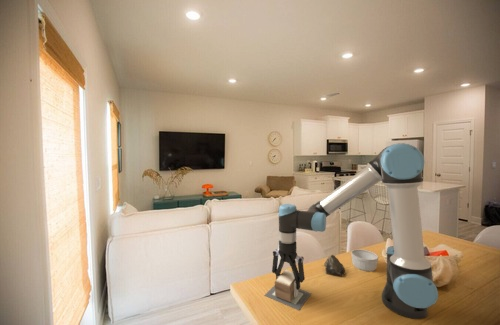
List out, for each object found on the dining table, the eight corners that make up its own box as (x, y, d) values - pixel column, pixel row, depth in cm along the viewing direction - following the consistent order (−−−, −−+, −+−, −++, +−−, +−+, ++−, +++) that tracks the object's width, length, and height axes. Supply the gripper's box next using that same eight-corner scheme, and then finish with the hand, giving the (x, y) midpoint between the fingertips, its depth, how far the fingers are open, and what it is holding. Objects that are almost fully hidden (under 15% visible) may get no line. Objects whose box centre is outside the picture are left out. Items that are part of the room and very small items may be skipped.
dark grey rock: (348, 278, 108) (337, 259, 108) (330, 284, 110) (320, 266, 111) (344, 266, 118) (335, 250, 119) (328, 272, 120) (319, 256, 121)
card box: (290, 302, 90) (290, 286, 89) (275, 296, 94) (274, 280, 93) (300, 288, 98) (299, 273, 97) (285, 283, 102) (285, 268, 101)
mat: (311, 294, 96) (311, 292, 96) (299, 311, 86) (299, 309, 86) (278, 282, 106) (278, 281, 106) (264, 296, 95) (264, 295, 95)
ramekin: (380, 265, 121) (380, 253, 121) (375, 275, 111) (375, 262, 111) (355, 258, 130) (355, 247, 129) (347, 267, 120) (347, 254, 120)
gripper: (313, 242, 92) (313, 296, 93) (271, 233, 104) (272, 281, 104) (306, 248, 86) (306, 306, 87) (263, 238, 98) (263, 289, 98)
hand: (287, 292), depth 96 cm, fingers closed on card box, 7 cm apart
